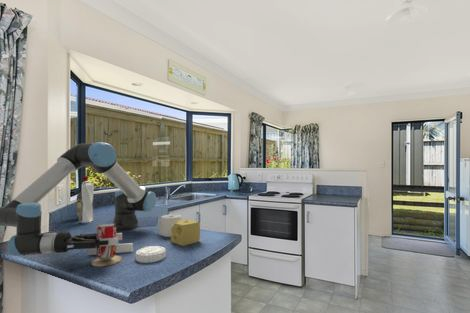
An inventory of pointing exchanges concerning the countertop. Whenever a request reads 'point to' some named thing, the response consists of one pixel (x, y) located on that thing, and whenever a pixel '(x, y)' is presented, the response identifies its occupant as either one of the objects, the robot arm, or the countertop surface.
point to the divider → (119, 248)
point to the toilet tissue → (167, 224)
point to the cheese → (185, 232)
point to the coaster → (106, 261)
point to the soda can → (102, 233)
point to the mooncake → (150, 254)
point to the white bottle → (87, 202)
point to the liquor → (79, 199)
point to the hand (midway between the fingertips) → (119, 238)
